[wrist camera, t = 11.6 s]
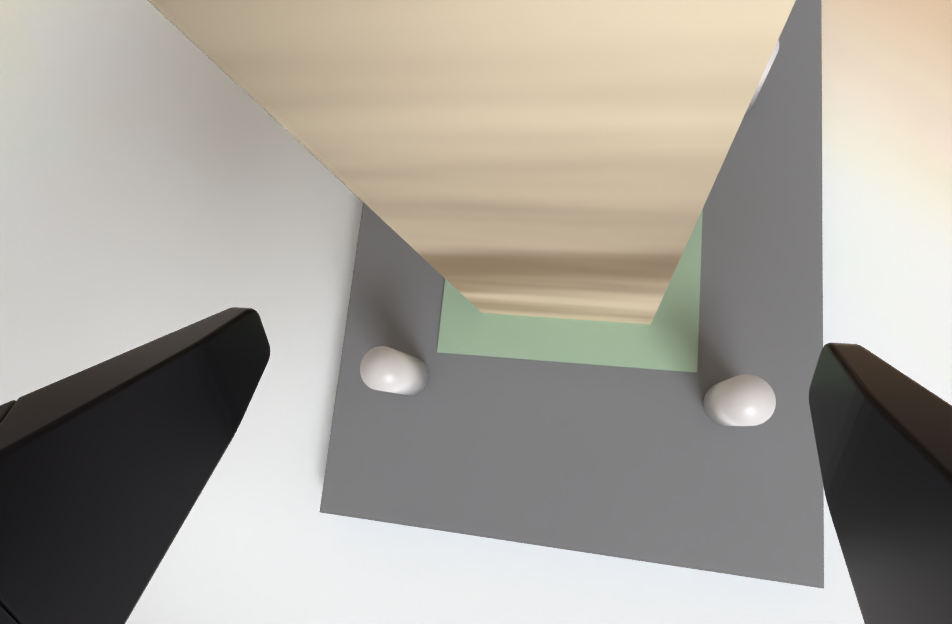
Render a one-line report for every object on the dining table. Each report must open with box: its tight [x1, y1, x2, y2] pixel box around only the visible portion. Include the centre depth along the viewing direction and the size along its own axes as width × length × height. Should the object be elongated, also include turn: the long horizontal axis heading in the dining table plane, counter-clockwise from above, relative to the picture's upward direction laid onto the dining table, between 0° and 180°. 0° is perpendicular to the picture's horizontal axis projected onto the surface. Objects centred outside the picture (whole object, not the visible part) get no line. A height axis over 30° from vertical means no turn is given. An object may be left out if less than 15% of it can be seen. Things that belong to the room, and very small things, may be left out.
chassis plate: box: [320, 0, 824, 588], centre depth 17 cm, size 18×14×4 cm
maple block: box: [148, 0, 796, 324], centre depth 11 cm, size 5×5×14 cm
